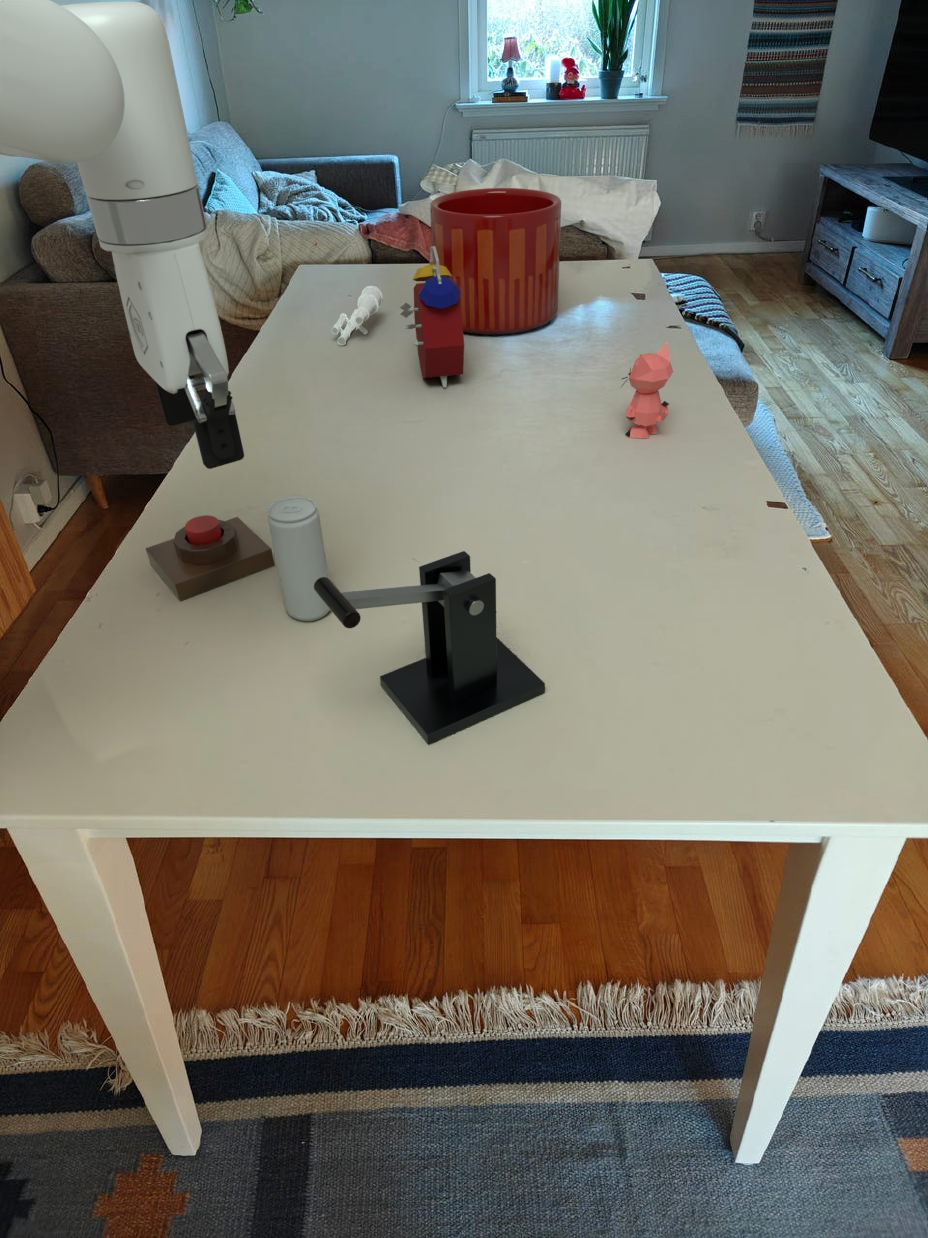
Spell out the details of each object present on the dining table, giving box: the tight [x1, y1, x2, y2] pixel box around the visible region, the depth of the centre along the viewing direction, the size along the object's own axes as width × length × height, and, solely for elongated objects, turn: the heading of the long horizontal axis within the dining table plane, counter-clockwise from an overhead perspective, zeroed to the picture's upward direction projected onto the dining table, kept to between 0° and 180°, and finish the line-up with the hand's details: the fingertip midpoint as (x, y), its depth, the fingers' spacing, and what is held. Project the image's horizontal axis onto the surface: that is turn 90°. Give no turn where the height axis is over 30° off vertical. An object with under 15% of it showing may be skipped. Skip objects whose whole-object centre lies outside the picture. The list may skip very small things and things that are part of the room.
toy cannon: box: [331, 285, 384, 347], centre depth 154 cm, size 8×14×5 cm
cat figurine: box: [620, 342, 674, 440], centre depth 115 cm, size 7×7×12 cm
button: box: [184, 514, 222, 545], centre depth 92 cm, size 4×4×2 cm
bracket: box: [379, 550, 546, 746], centre depth 73 cm, size 12×9×13 cm
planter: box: [429, 187, 562, 336], centre depth 154 cm, size 23×23×20 cm
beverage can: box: [267, 495, 331, 623], centre depth 84 cm, size 5×5×12 cm
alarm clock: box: [399, 246, 465, 389], centre depth 131 cm, size 15×9×20 cm, turn 9°
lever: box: [314, 571, 476, 629], centre depth 68 cm, size 13×6×2 cm, turn 121°
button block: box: [145, 516, 275, 602], centre depth 94 cm, size 11×9×4 cm
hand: (204, 440), depth 70 cm, fingers open, 9 cm apart
